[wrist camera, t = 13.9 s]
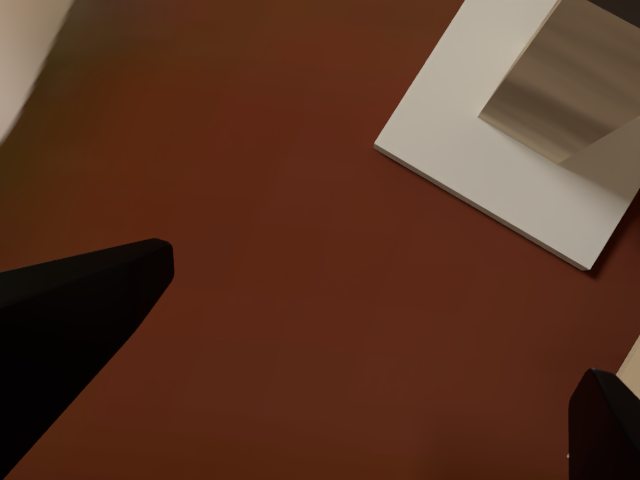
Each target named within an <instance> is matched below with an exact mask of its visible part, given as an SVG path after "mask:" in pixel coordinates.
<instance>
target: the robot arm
mask: <svg viewBox="0 0 640 480" xmlns="http://www.w3.org/2000/svg"><path fill="white" fill-rule="evenodd" d="M173 277H174V258H173V247H172V245H171V244H170V243H169V242H167V241H164V240H160V239H157V238H152V239H147V240H143V241H138V242H134V243H130V244H125V245H121V246H116V247H112V248H107V249H103V250H98V251H94V252H89V253H85V254H80V255H76V256H71V257H67V258H62V259H58V260H54V261H49V262H45V263H40V264H36V265H31V266H27V267H22V268H18V269H13V270H9V271H4V272H0V480H3V479H4V478H5V477H6V476H7V474H8V473H9V472H10V471H11V470H12V469H13V468H14V467H15V465H16V464H17V463H18V462H19V461H20V460H21V459H22V458H23V456H24V455H25V454H26V453H27V452H28V451H29V450H30V449H31V448H32V446H33V445H34V444H35V443H36V442H37V441H38V440H39V439H40V437H41V436H42V435H43V434H44V433H45V432H46V431H47V430H48V429H49V427H50V426H51V425H52V424H53V423H54V422H55V421H56V420H57V418H58V417H59V416H60V415H61V414H62V413H63V412H64V411H65V409H66V408H67V407H68V406H69V405H70V404H71V403H72V402H73V401H74V399H75V398H76V397H77V396H78V395H79V394H80V393H81V392H82V390H83V389H84V388H85V387H86V386H87V385H88V384H89V383H90V382H91V380H92V379H93V378H94V377H95V376H96V375H97V374H98V373H99V371H100V370H101V369H102V368H103V367H104V366H105V365H106V364H107V362H108V361H109V360H110V359H111V358H112V357H113V356H114V355H115V354H116V352H117V351H118V350H119V349H120V348H121V347H122V346H123V345H124V343H125V342H126V341H127V340H128V339H129V338H130V337H131V335H132V334H133V333H134V332H135V331H136V329H137V328H138V327H139V326H140V324H141V323H142V322H143V320H144V319H145V318H146V316H147V315H148V313H149V312H150V311H151V309H152V308H153V307H154V305H155V304H156V302H157V301H158V300H159V298H160V297H161V295H162V294H163V293H164V291H165V290H166V289H167V287H168V286H169V284H170V283H171V281H172V279H173ZM568 428H569V480H640V399H639V398H638V397H637V396H636V395H635V394H634V393H633V392H632V391H631V390H630V389H629V388H628V387H627V386H626V385H625V384H624V383H623V382H622V380H621V379H620V378H619V377H617V376H616V375H615V374H613V373H610V372H606V371H603V370H599V369H596V368H590V369H588V370H587V371H586V372H585V374H584V376H583V377H582V379H581V381H580V382H579V384H578V386H577V388H576V389H575V391H574V393H573V395H572V396H571V399H570V402H569V408H568Z"/></svg>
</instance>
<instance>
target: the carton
mask: <svg viewBox="0 0 640 480" xmlns="http://www.w3.org/2000/svg"><path fill="white" fill-rule="evenodd" d="M616 376H617V377H619V378H620V379H621V380H622V382H623V383H624V384H625V385H626V386H627V387H628V388H629V389H630V390H631V391H632V392H633V393H634V394H635V395H636V396H637V397H638V398H639V399H640V336H639V337H638V339H637V341H636V342H635V344H634V346H633V347H632V349H631V351H630V352H629V354H628V356H627V357H626V359H625V361H624V362H623V364H622V366H621V367H620V369H619V371H618V372H617V374H616ZM567 457H568V458H569V454H568V456H567Z"/></svg>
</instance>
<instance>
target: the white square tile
mask: <svg viewBox="0 0 640 480" xmlns="http://www.w3.org/2000/svg"><path fill="white" fill-rule="evenodd" d="M556 1H557V0H465V2H464V3H463V5H462V6H461V8H460V9H459V11H458V13H457V14H456V16H455V17H454V19H453V20H452V22H451V24H450V25H449V27H448V28H447V30H446V31H445V33H444V35H443V36H442V38H441V39H440V41H439V42H438V44H437V46H436V47H435V49H434V50H433V52H432V53H431V55H430V56H429V58H428V60H427V61H426V63H425V64H424V66H423V67H422V69H421V71H420V72H419V74H418V75H417V77H416V78H415V80H414V82H413V83H412V85H411V86H410V88H409V89H408V91H407V93H406V94H405V96H404V97H403V99H402V100H401V102H400V104H399V105H398V107H397V108H396V110H395V111H394V113H393V115H392V116H391V118H390V119H389V121H388V122H387V124H386V126H385V127H384V129H383V130H382V132H381V133H380V135H379V136H378V138H377V140H376V141H375V143H374V149H376V150H377V151H379V152H381V153H383V154H384V155H386V156H388V157H389V158H391V159H393V160H394V161H396V162H398V163H400V164H401V165H403V166H405V167H406V168H408V169H410V170H411V171H413V172H415V173H417V174H418V175H420V176H422V177H423V178H425V179H427V180H428V181H430V182H432V183H434V184H435V185H437V186H439V187H440V188H442V189H444V190H445V191H447V192H449V193H451V194H452V195H454V196H456V197H457V198H459V199H461V200H462V201H464V202H466V203H468V204H469V205H471V206H473V207H474V208H476V209H478V210H479V211H481V212H483V213H485V214H486V215H488V216H490V217H491V218H493V219H495V220H496V221H498V222H500V223H502V224H503V225H505V226H507V227H508V228H510V229H512V230H513V231H515V232H517V233H519V234H520V235H522V236H524V237H525V238H527V239H529V240H530V241H532V242H534V243H536V244H537V245H539V246H541V247H542V248H544V249H546V250H547V251H549V252H551V253H553V254H554V255H556V256H558V257H559V258H561V259H563V260H564V261H566V262H568V263H570V264H571V265H573V266H575V267H576V268H578V269H580V270H590V269H591V267H592V266H593V264H594V262H595V261H596V259H597V257H598V256H599V254H600V252H601V251H602V249H603V248H604V246H605V244H606V243H607V241H608V239H609V238H610V236H611V234H612V233H613V231H614V229H615V228H616V226H617V225H618V223H619V221H620V220H621V218H622V216H623V215H624V213H625V211H626V210H627V208H628V206H629V205H630V203H631V202H632V200H633V198H634V197H635V195H636V193H637V192H638V190H639V188H640V116H638V117H636V118H635V119H633V120H631V121H630V122H628V123H626V124H625V125H623V126H621V127H619V128H618V129H616V130H614V131H613V132H611V133H609V134H608V135H606V136H604V137H603V138H601V139H599V140H597V141H596V142H594V143H592V144H591V145H589V146H587V147H586V148H584V149H582V150H581V151H579V152H577V153H575V154H574V155H572V156H570V157H569V158H567V159H565V160H564V161H562V162H560V163H559V164H556V163H554V162H552V161H551V160H549V159H547V158H546V157H544V156H542V155H541V154H539V153H537V152H536V151H534V150H532V149H531V148H529V147H527V146H525V145H524V144H522V143H520V142H519V141H517V140H515V139H514V138H512V137H510V136H509V135H507V134H505V133H504V132H502V131H500V130H498V129H497V128H495V127H493V126H492V125H490V124H488V123H487V122H485V121H483V120H482V119H480V118H478V117H477V116H478V115H479V113H480V112H481V110H482V109H483V107H484V106H485V104H486V103H487V101H488V100H489V98H490V97H491V95H492V94H493V92H494V91H495V89H496V88H497V86H498V85H499V83H500V82H501V80H502V79H503V77H504V76H505V74H506V73H507V72H508V70H509V69H510V67H511V66H512V64H513V63H514V61H515V60H516V58H517V57H518V55H519V54H520V52H521V51H522V49H523V48H524V46H525V45H526V43H527V42H528V40H529V39H530V37H531V36H532V35H533V33H534V32H535V30H536V29H537V28H538V26H539V25H540V23H541V22H542V21H543V19H544V18H545V16H546V15H547V13H548V12H549V11H550V9H551V8H552V6H553V5H554V4H555V2H556Z"/></svg>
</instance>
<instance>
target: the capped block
mask: <svg viewBox="0 0 640 480" xmlns="http://www.w3.org/2000/svg"><path fill="white" fill-rule="evenodd" d="M638 116H640V0H557V1H556V2H555V4H554V5H553V6H552V8H551V9H550V11H549V12H548V13H547V15H546V16H545V18H544V19H543V21H542V22H541V23H540V25H539V26H538V28H537V29H536V30H535V32H534V33H533V35H532V36H531V37H530V39H529V40H528V42H527V43H526V45H525V46H524V48H523V49H522V51H521V52H520V54H519V55H518V57H517V58H516V60H515V61H514V63H513V64H512V66H511V67H510V69H509V70H508V72H507V73H506V74H505V76H504V77H503V79H502V80H501V82H500V83H499V85H498V86H497V88H496V89H495V91H494V92H493V94H492V95H491V97H490V98H489V100H488V101H487V103H486V104H485V106H484V107H483V109H482V110H481V112H480V113H479V115H478V116H477V117H478V118H480V119H482V120H483V121H485V122H487V123H488V124H490V125H492V126H493V127H495V128H497V129H498V130H500V131H502V132H504V133H505V134H507V135H509V136H510V137H512V138H514V139H515V140H517V141H519V142H520V143H522V144H524V145H525V146H527V147H529V148H531V149H532V150H534V151H536V152H537V153H539V154H541V155H542V156H544V157H546V158H547V159H549V160H551V161H552V162H554V163H556V164H559V163H560V162H562V161H564V160H565V159H567V158H569V157H570V156H572V155H574V154H575V153H577V152H579V151H581V150H582V149H584V148H586V147H587V146H589V145H591V144H592V143H594V142H596V141H597V140H599V139H601V138H603V137H604V136H606V135H608V134H609V133H611V132H613V131H614V130H616V129H618V128H619V127H621V126H623V125H625V124H626V123H628V122H630V121H631V120H633V119H635V118H636V117H638Z"/></svg>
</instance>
